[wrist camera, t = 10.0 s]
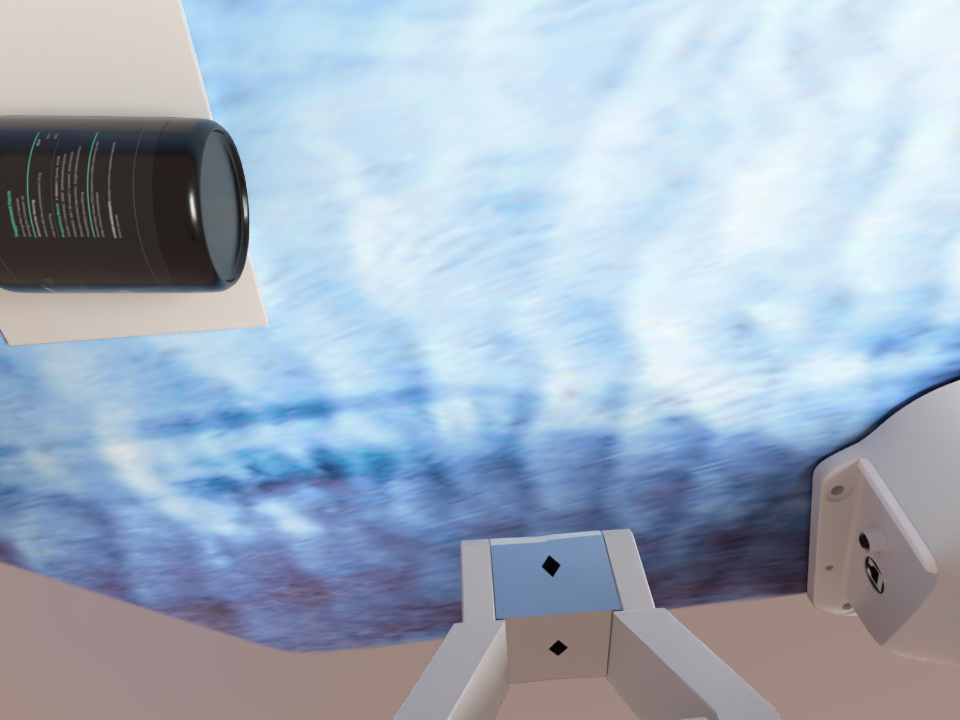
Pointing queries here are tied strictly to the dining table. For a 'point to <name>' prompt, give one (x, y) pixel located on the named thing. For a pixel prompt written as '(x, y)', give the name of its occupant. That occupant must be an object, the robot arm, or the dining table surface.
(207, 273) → the supplement bottle
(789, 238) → the dining table surface
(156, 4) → the mat
